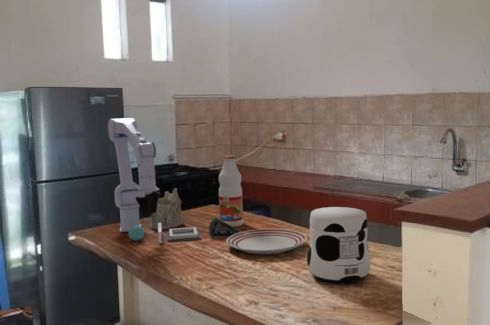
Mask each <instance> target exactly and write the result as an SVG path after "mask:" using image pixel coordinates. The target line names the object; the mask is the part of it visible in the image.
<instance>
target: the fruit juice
mask: <svg viewBox="0 0 490 325" xmlns="http://www.w3.org/2000/svg"><path fill="white" fill-rule="evenodd" d="M222 158H223V164H222V167H221V171H220V172H219V174H218V183H219V188H218V207H219V208H218V210H219V211H218V212H219V220H221V221H223V222H225V223H227V224H229V225H231V226H233V227H234V228H237V227H240V226H242V225H243V224H244V210H243V209H244V207H243V206H244V204H243V202H244V201H243V188H242V186H241V183H242V174H241V173H240V171H239V168H238V166H237V164H236V160H237V159H236V158H237V156H236V155H234V154H227V155H226V154H225V155H223V156H222Z"/></svg>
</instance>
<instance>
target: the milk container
mask: <svg viewBox="0 0 490 325" xmlns="http://www.w3.org/2000/svg"><path fill="white" fill-rule="evenodd" d="M306 264H307V268H308V271H309V272H310V274H311V275H312V276H314V278H315V277H316V278H317V279H319V280H321V281H322V280H323V281H326V282H333V283H351V282H357V281H359V280H362V279H364V278H365V277H367V276H368V274H369V272H370V269H371V254H370V250H369V246H368V218H367V212H366V211H365V210H363V209H358V208H354V207H343V206H328V207H320V208H315V209H313V210H312V211H311V212H310V217H309V247H308V251H307V255H306Z"/></svg>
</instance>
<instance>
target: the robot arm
mask: <svg viewBox="0 0 490 325" xmlns="http://www.w3.org/2000/svg"><path fill="white" fill-rule="evenodd" d="M107 125H108V126H107V130H108V131H107V132H108V136H109V140H110V141H111V142H113V143H114V147H115V153H116V160H117V166H118V175H119V180H120V181H119V182H120V184H119V185H117V186H116V187H115V189H114V203H115V204H114V205H115V206H116V208H118V209H119V214H120V215H119V216H120V227H119V233H127V232H128V233H129V230H130V228H131V227H133V226H136V225H137V226H140V227H142V223H140V212H141V214H142V217H143V218H146V217H147V218H149V217H150V216H151V215H150V214H153V213H156V210H157V203H158V199H160V196H161V192H160V188H159V187H158V186H156V184H157V182H156V170H155V169H156V168H155V158H156V155H157V148H156V145H155V143H154V141H148V139H147V138H146V137H145V135H144V134H143V133H142V132H140V131H138V130H137V129H138V128H137V121H136V119H135V118H134V117H128V118H110V119H109V120H108V122H107ZM128 143H129V144H130V146H131V148H132V149H133V150H134V151H133V152H134V153H133V154H134V157H135V158H134V159H135V162H136V165H137V172H138V183H136V182H134V180H133V173H132V165H131V158H130V152H129V146H128ZM158 191H159V192H158ZM139 209H140V210H139Z"/></svg>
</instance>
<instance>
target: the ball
mask: <svg viewBox="0 0 490 325" xmlns="http://www.w3.org/2000/svg"><path fill="white" fill-rule="evenodd" d="M144 235H145V230H144V229H143V227H142V226H141V227H140V226H137V225H136V226H133V227H131V228H130V230H129V232H128V238H130V239H131V240H132V241H135V242H136V241H140V240H142V239H143V237H144Z"/></svg>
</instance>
